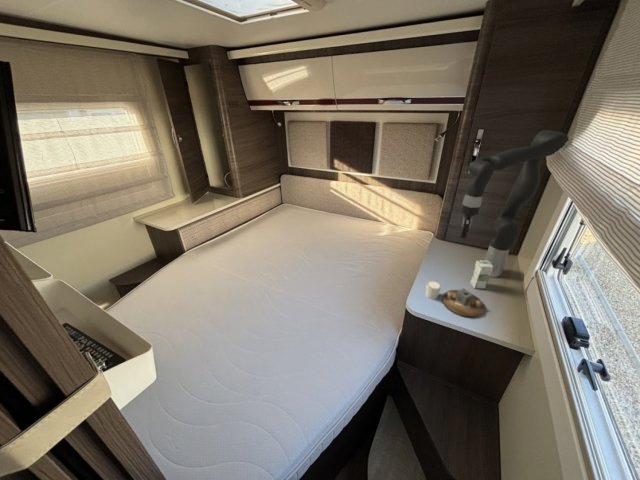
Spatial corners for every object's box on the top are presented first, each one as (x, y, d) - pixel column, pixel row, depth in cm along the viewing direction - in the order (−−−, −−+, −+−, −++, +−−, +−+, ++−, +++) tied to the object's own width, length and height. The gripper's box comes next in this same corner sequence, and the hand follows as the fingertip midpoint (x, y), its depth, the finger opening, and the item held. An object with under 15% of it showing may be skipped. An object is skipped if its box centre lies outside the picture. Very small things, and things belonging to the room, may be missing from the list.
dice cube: (463, 306, 125) (466, 297, 122) (454, 299, 129) (456, 291, 126) (470, 302, 127) (473, 294, 124) (461, 296, 131) (463, 288, 128)
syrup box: (480, 282, 143) (487, 259, 136) (485, 289, 137) (493, 266, 130) (469, 282, 143) (476, 259, 136) (474, 289, 138) (481, 266, 131)
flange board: (444, 288, 139) (445, 282, 137) (483, 298, 131) (485, 292, 129) (440, 310, 125) (441, 303, 123) (483, 322, 117) (485, 316, 116)
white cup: (437, 301, 130) (440, 290, 127) (422, 297, 133) (425, 286, 130) (439, 294, 135) (442, 283, 132) (426, 289, 138) (428, 278, 135)
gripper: (463, 198, 131) (456, 227, 139) (461, 207, 120) (454, 238, 128) (480, 200, 128) (472, 229, 136) (480, 210, 117) (471, 242, 125)
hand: (463, 234), depth 132 cm, fingers open, 8 cm apart
